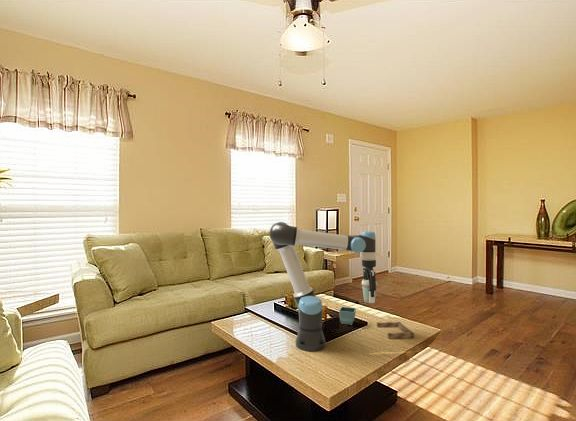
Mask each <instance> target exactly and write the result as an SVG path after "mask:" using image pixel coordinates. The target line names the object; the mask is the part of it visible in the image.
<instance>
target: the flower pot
mask: <svg viewBox="0 0 576 421" xmlns="http://www.w3.org/2000/svg"><path fill="white" fill-rule="evenodd" d="M356 310H357V308H355V307H348V306H341V307H340V308H339V311H338V313H339V322H340V323H341V324H349V325H351V326H353V323H354V321H355V318H356Z"/></svg>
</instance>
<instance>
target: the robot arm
mask: <svg viewBox="0 0 576 421" xmlns="http://www.w3.org/2000/svg"><path fill="white" fill-rule="evenodd" d="M269 238H270V240H271V241H272V244H273V246H274V249H275V250H276V251H277V252H279V255H280V257H281V260H282V263H283V265H284V268H285V271H286V272H287V276H288V278H289V281H290V283H291V286H292V288H293V291H294V293H293V295H292V296H293V299H294V302H295V304H296V307H297V310H298V331H297V335H296V337H295V346H296V348H298V349H299V350H300V351H301V350H302V351H305V352H319V351H321V350H323V349H325V348H326V338H325V335H324V332H323V302H322V299H321V298H319V297H317V296H316V293H315V291H314V287H311V286H310V285H309V282H308V280H307V277H306V275H305V272H304V270H303V266H302V264H301V261H300V258H299V257H298V253H297V251H296V249H295V248H296V247H295V246H297V245H303V246H311V247H316V248H317V247H318V248H326V249H333V250H339V251H340V250H341V251H349V252H354V253H357V254H359V253H361V259H362V260H361V267H363V268H362V271H363V275H362V276H363V278H362V280H363V279H365V280H369V287H370V290H369V303H368V304H375V303H376V298H375V291H376V292H377V288H376V282H377V280H376V271H374V268H376V266H377V260H376V259H377V251H376V249H377V248H376V245H377V244H376V243H377V242H376V240H377V239H376V233H375V231H372V230H371V231H366V230H365V231H361V234H358V235H357V234H355V235H354V234H353V235H352V234H351V235H349V234H348V235H347V234H344V235H343V234H336V233H330V232H329V233H328V232H322V231H314V230H307V229H306V230H305V229H300V228H299V227H298V226H292V225H289V224H288V223H286V222H284V221H283V222H282V221H278V222H276V223H274V224H272V225H271V227H270V229H269Z"/></svg>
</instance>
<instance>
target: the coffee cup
mask: <svg viewBox="0 0 576 421" xmlns="http://www.w3.org/2000/svg"><path fill="white" fill-rule="evenodd" d="M377 286H378V282H377V281H376V289H377ZM361 287H362V294H363V301H364V303H366V304H370V303H369V290H370V287H369V280H365V279H363V278H362V280H361ZM376 297H377V290H376V291H375V299H376Z"/></svg>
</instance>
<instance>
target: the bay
mask: <svg viewBox="0 0 576 421" xmlns="http://www.w3.org/2000/svg"><path fill="white" fill-rule="evenodd" d="M376 327H377V328H397V327H398V328H399V330H401V331H402V332H387V338H388V339H389V340H390V339H392V340H393V339H396V340H397V339H414V335H415V333H414V332H413V331H412V330H410V329H409V328H408V327H406V326H405V325H404V324H403V323H401V322H400V321H386V322H385V321H381V322H380V321H379V322H376Z"/></svg>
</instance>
